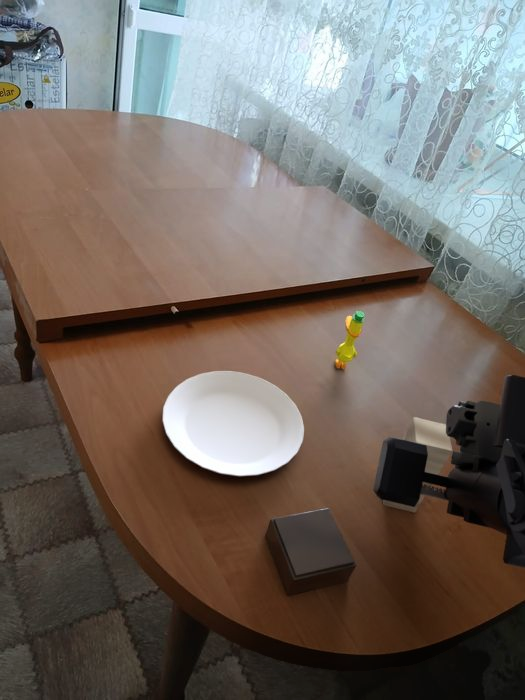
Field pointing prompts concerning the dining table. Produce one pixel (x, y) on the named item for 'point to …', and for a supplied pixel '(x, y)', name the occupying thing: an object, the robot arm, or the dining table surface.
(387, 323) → the dining table surface
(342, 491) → the dining table surface
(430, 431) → the block
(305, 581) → the stand
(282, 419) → the plate
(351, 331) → the toy figure
